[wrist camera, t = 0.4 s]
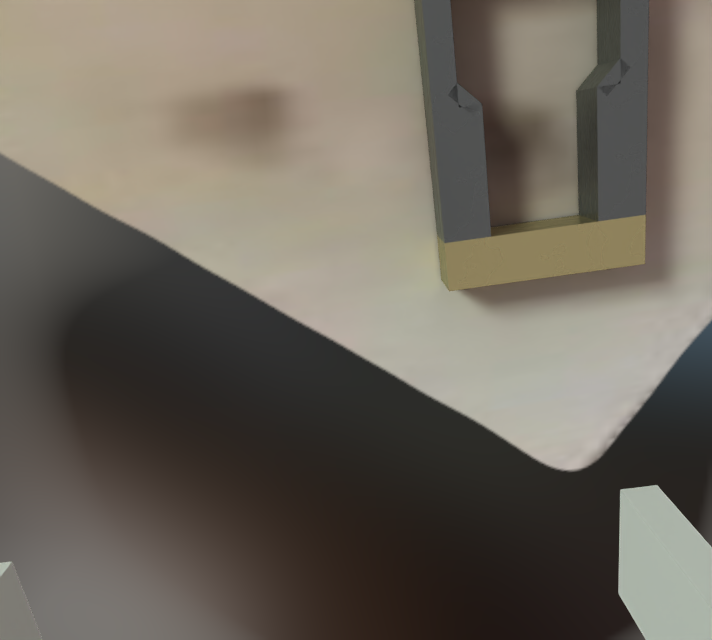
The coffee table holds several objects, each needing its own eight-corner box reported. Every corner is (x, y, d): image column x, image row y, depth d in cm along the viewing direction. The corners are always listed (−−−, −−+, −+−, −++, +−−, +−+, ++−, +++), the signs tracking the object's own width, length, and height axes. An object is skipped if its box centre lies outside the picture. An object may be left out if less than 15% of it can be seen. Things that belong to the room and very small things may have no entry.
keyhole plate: (407, -66, 32) (413, -86, 29) (623, -100, 32) (650, -123, 29) (441, 279, 38) (449, 291, 35) (622, 254, 38) (644, 264, 35)
